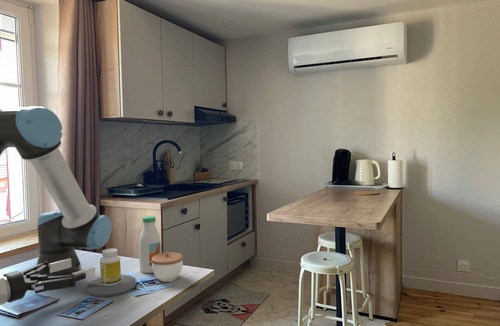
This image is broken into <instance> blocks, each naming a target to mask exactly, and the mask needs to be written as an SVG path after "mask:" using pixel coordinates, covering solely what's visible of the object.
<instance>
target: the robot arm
mask: <svg viewBox="0 0 500 326" xmlns="http://www.w3.org/2000/svg"><path fill="white" fill-rule="evenodd" d="M62 131H63V125H62V122H61V120H60V118H59V117H58V115H57V114H56V113H55V112H53V111H52V110H51V109H49V108H47V107H44V106H34V105H28V106H17V107H0V157H1V156H2V154H3V152H4V151H5V150H6V149H8V148H15V149H16V152H17V154H19V156H20V158H21V159H22V160H25V161H28V162H30V163H31V164H32V167H33V168H34V170H35V171H36V173H37V175H38V176H39V177H40V180H41V182H42V183H43V185H44V186H45V188H46V190H47V191H48V193H49V195H50V196H51V198H52V200H53V201H54V203H55V205H56V207H57V208H58V210H52V211H47V212H43V213H41V214H39V216H38V217H37V225H36V226H37V239H38V252H39V254H38V258H37V261H36V264H35V265H34V266H31V267H29V268H27V269H25V270H22V271H19V270H15V271H10V272H8V273H4V274H3V275H1V274H0V306H2V305H5V304H7V303H13V302H16V301H19V300H22V299H23V298H24V297H25V296H26V293H27V292H28V291H34V293H35V294H39V293H40V294H41V293H45V292H47V291H55V290H60V289H61V290H62V289H67V288H75V287H76V286H77V284H76V283H78V282H82V281H86V280H89V279H92V278H95V277H96V267H95V266H93V267H89V268H86V269H85V268H84V269H83V270H82V264H81V260H80V259H79V257H78V254H77V252H76V248H79V249H86V250H92V249H95V250H98V249H101V248H102V247H104V246H105V245H106V244H107V243H108V241H109V239H110V236H111V232H112V228H113V227H112V221H111V219H110V218H109V216H107V215H105V214H102V215H101V214H100V213H99V211H98V209H97V207H96V206H95V205H93V204H91V203H90V204H89V201H87V199H86V197H85V195H84V193H83V191H82V189H81V187H80V186H79V184H78V181H77V180H76V178H75V176H74V175H73V172H72V171H71V169H70V166H69V165H68V163H67V161H66V159H65V158H64V156H63V153H62V152H61V150H60V147H61V145H62V140H61V139H62V137H63V132H62Z"/></svg>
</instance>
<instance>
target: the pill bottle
mask: <svg viewBox="0 0 500 326" xmlns="http://www.w3.org/2000/svg"><path fill="white" fill-rule="evenodd" d="M101 254H102V257H101V258H100V259H99V265H100V266H99V268H100V269H99V271H100V278H101V284H102V285H103V286H114V285H117V284H119V283H120V282H121V275H122V274H121V273H122V271H121V257H120V256H119V255H118V249H117V248H115V247H114V248H113V247H111V248H105V249H102V250H101Z"/></svg>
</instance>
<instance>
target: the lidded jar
mask: <svg viewBox="0 0 500 326" xmlns="http://www.w3.org/2000/svg"><path fill="white" fill-rule="evenodd" d="M183 259H184V256H183V254H182V253H180V252H171V251H170V252H169V251H165V252H161V253H160V254H157V255H154V256H153V257H152V258H151V261H152V269H153V273H152V274H153V276H155V277H156V279H158V281H160V282H162V283H170V282H174V281H175V280H177V278H178V277H179V275H180V274H181V272H182V270H183V263H184V262H183V261H184V260H183Z"/></svg>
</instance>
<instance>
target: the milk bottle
mask: <svg viewBox="0 0 500 326" xmlns="http://www.w3.org/2000/svg"><path fill="white" fill-rule="evenodd" d="M156 221H157V220H156V216H154V215H148V216H144V217H142V224H143V225H142V226H143V227H142V230H141V233H140V235H139V239H138V245H139V246H138V247H139V248H138V251H139V257H138V258H139V270H140V272H141V273H143V274H151V273H152V274H154V273H153V269H152V261H151V258H152V257H153V256H154V255H157V254H160V253H162V250H161V249H162V248H161V246H162V245H161V244H162V243H161V237H160V236H161V235H160V233H159V231H158V229H157V226H156Z"/></svg>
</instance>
